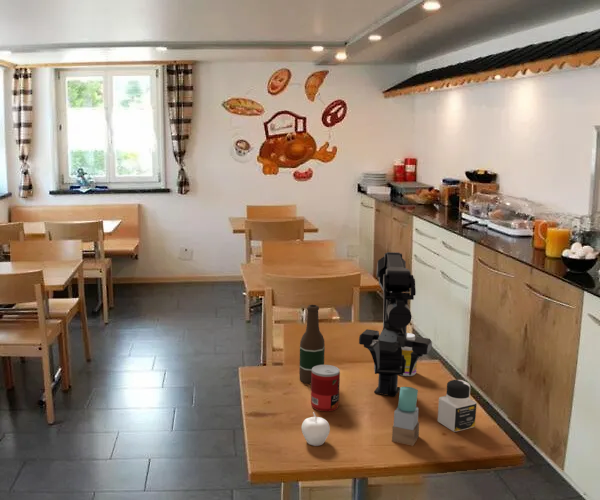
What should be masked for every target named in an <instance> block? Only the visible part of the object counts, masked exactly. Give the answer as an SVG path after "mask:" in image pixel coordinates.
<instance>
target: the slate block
mask: <svg viewBox="0 0 600 500" xmlns="http://www.w3.org/2000/svg"><path fill="white" fill-rule="evenodd" d="M393 414H394V415H393V425H394V427H398V428H403V429H408V430H414V428H415V426H416V425H417V423H418V422H419V407H418V406H416V410H415V411H404V410H401V409H399V408H398V406H397V407H396V409H395V410H394V413H393Z"/></svg>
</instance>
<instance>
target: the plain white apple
mask: <svg viewBox="0 0 600 500" xmlns="http://www.w3.org/2000/svg"><path fill="white" fill-rule="evenodd" d="M312 414H313V416H311V417H307V418H304V420H303V421H302V424H301V432H302V435H303V437H304V440H305V441H306V442H307V444H308V445H311V446H313V447H319V446H322V445H323V444H324V443H325V442H326V440H327V438H328V437H329V434H330V432H331V431H330V428H331V427H330V424H329V422H328V421H327V420H326V419H325V418H323V417H321V416H320V417H319V416H317V415H316V413H315V411H313V412H312Z"/></svg>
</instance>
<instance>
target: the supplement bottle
mask: <svg viewBox="0 0 600 500" xmlns="http://www.w3.org/2000/svg"><path fill="white" fill-rule="evenodd" d="M406 333H407V337H406V338H407V340H415V339H416V335H415V334H414V333H412V332H410V333H409V332H406ZM401 348H402V355H404V358H405V359H406V365H405V373H403V375H401V376H403V377H413V376H415V375H416V374H417V367H418V364H417V363H418V361H417V362H416V365H415V367H414V369H413V372H412V374H411V375H409V368H410V362H411V353H412V352H413V350H412V347H401Z"/></svg>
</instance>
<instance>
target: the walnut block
mask: <svg viewBox="0 0 600 500" xmlns="http://www.w3.org/2000/svg"><path fill="white" fill-rule="evenodd" d="M392 425H393V426H392V430H391V431H392V432H391V433H392V434H391V435H392V437H391V442H394V443H398V444H403V445H408V446H412V447H414V445H415V443H417V440H418V439H419V435H420V421H418V423H417V425H416V426H415V428H414V430H408V429H403V428H398V427H394V424H392Z"/></svg>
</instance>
